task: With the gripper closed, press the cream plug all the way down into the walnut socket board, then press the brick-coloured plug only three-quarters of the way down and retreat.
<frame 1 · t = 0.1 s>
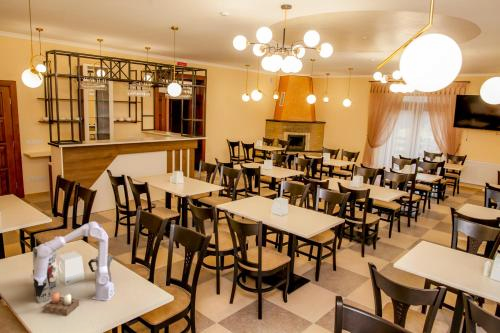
hand: (37, 292, 181), 10 cm above the table, tool pointing down, fingers open, 7 cm apart
socket board: (62, 308, 185), on the table
coffee box: (42, 297, 195), on the table, touching juice carton
rust plug: (55, 298, 185), point 6 cm above the table, slide at 0.0 cm
cream plug: (67, 299, 184), point 6 cm above the table, slide at 0.0 cm
coffeepot: (102, 281, 216), on the table
juice carton: (45, 288, 205), on the table, touching coffee box
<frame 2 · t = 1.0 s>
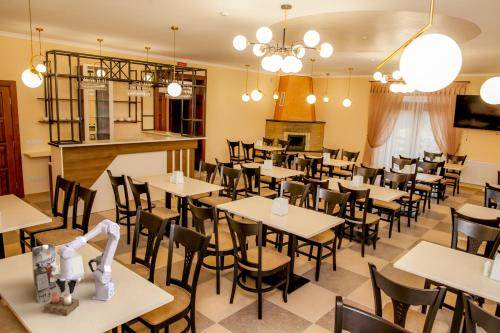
hand: (67, 292, 183), 10 cm above the table, tool pointing down, fingers open, 4 cm apart
coffee box: (42, 298, 195), on the table
juice carton: (45, 288, 205), on the table
everything else where it was.
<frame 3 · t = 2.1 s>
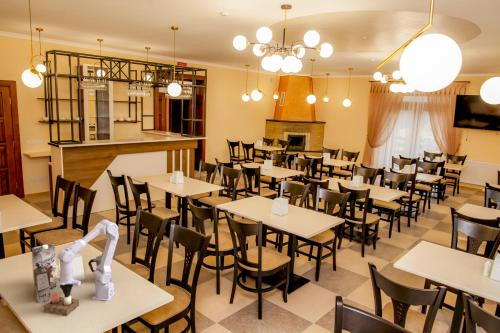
hand: (67, 296, 184), 8 cm above the table, tool pointing down, fingers closed, pressing on cream plug
cream plug: (67, 300, 184), point 5 cm above the table, slide at 0.5 cm, touching gripper
everything else where it was.
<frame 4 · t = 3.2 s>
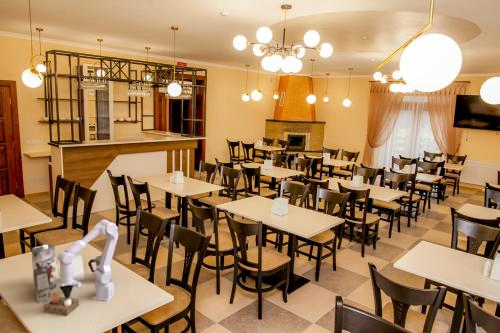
hand: (67, 297, 184), 7 cm above the table, tool pointing down, fingers closed
cream plug: (67, 304, 184), point 3 cm above the table, slide at 2.8 cm
everything else where it was.
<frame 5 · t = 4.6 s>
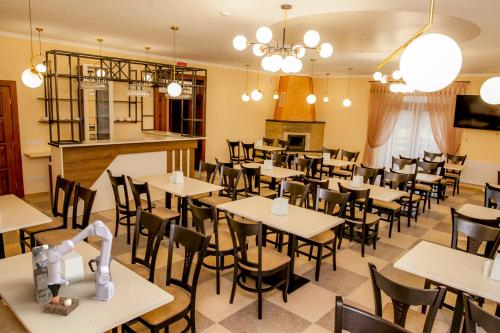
hand: (55, 296, 185), 7 cm above the table, tool pointing down, fingers closed, pressing on rust plug
rust plug: (55, 300, 185), point 4 cm above the table, slide at 1.3 cm, touching gripper
everything else where it was.
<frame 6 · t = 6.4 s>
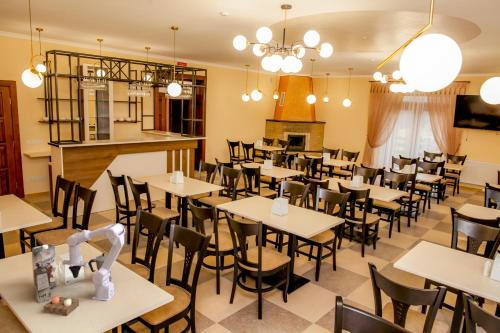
hand: (75, 277, 199), 10 cm above the table, tool pointing down, fingers closed
rust plug: (55, 301, 185), point 4 cm above the table, slide at 2.2 cm
everything else where it was.
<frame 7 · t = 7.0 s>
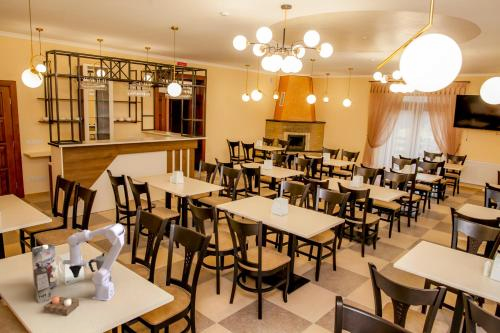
hand: (76, 277, 200), 10 cm above the table, tool pointing down, fingers closed
nothing on the table moved.
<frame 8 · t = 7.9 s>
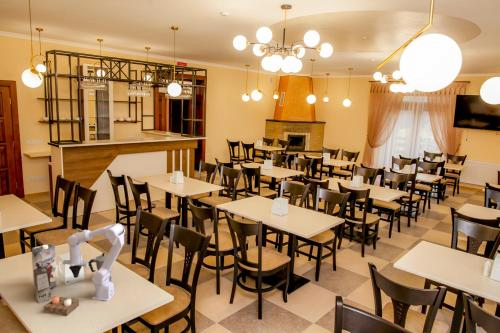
hand: (76, 277, 200), 10 cm above the table, tool pointing down, fingers closed
nothing on the table moved.
at the end: cream plug slide at 2.8 cm; rust plug slide at 2.2 cm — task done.
